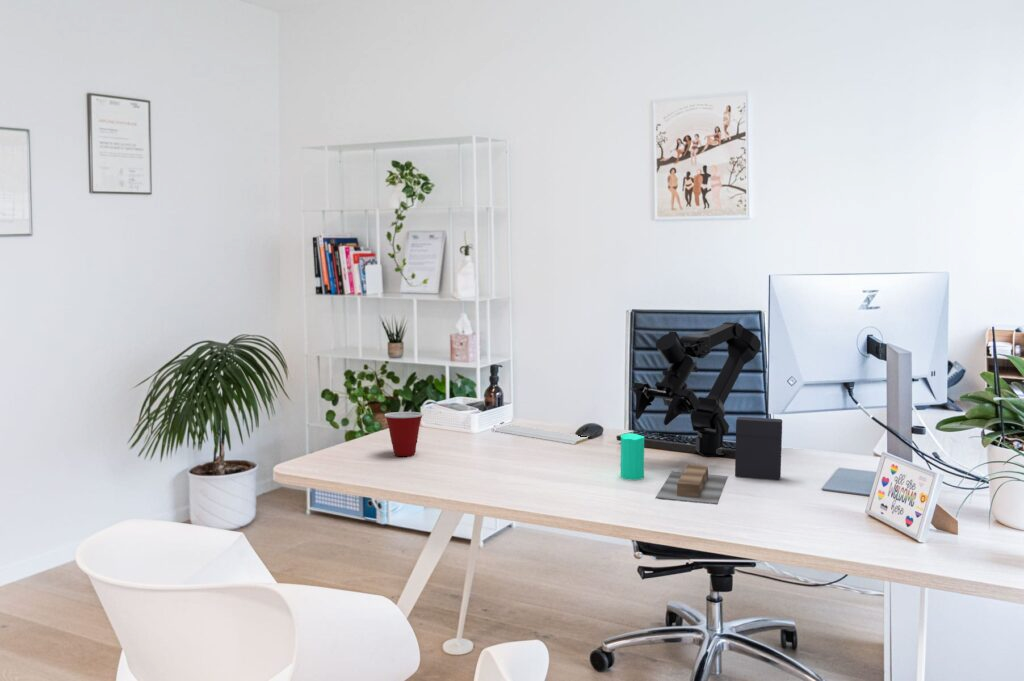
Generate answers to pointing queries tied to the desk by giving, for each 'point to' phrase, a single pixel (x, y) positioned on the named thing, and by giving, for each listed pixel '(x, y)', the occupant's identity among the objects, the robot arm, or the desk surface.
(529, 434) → the baseboard
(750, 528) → the desk surface
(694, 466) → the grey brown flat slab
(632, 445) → the candle
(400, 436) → the plastic cup
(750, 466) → the upright charcoal slab
